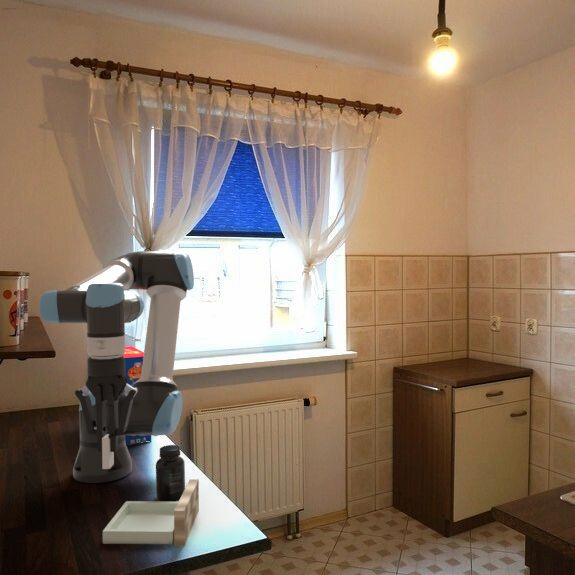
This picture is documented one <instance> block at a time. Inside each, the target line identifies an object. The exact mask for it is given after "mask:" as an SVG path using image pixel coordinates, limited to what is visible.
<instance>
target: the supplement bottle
mask: <svg viewBox="0 0 575 575" xmlns="http://www.w3.org/2000/svg"><path fill="white" fill-rule="evenodd" d="M185 464H186V463H185V459H184V458H183V457H182V456H181V447H180V446H179V445H176V444H170V445H169V444H168V445H164V446H162V447H161V446H160V448H159V459H158V460H157V461H156V462H155V488H156V489H155V493H156V500H157V501H164V502H179V500H180V498H181V496H182V494H183V492H184V490H185V488H186V472H185V471H186V469H185V467H186V465H185Z"/></svg>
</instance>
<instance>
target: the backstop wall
mask: <svg viewBox="0 0 575 575" xmlns="http://www.w3.org/2000/svg"><path fill="white" fill-rule="evenodd" d="M199 483H200V481H199V479H197V478H196V479H189V480H188V482H187V484H186V485H185V490H184V492H183V494H182V496H181V498H180V500H179V501H177V502H178V504H177V506H176V508H175V510H174V543H173V546H174V547H185V545H186V543H187V541H188V538H189V536H190V533H191V531H192V528H193V526H194V523H195V520H196V519H197V516H198V514H199V510H200V508H199V506H200V504H199V502H200V500H199V499H200V498H199V496H200V495H199V493H200V489H199V485H200V484H199Z"/></svg>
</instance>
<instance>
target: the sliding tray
mask: <svg viewBox="0 0 575 575" xmlns="http://www.w3.org/2000/svg"><path fill="white" fill-rule="evenodd" d="M178 502H179V501H176V502H164V501H159V500H157V501H153V500H152V501H148V500H147V501H146V500H145V501H144V500H143V501H142V500H137V501H136V500H134V501H133V500H132V501H131V500H129V501H128V500H126V501H125V502H124V503H123V504H122V506H121V507H120V509H119V510H118V511H117V512H116V513H115V515H114V516H113V517H112V518H111V520H110V521H109V522H108V523H107V525H106V526H105V527H104V528H103V530H102V544H104V545H109V544H110V545H174V510H175V508H176V506H177V504H178Z"/></svg>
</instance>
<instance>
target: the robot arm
mask: <svg viewBox="0 0 575 575" xmlns="http://www.w3.org/2000/svg"><path fill="white" fill-rule="evenodd" d="M194 279H195V277H194V269H193V263H192V260H191V257H190V255H189V254H188V253H187V252H186V251H182V250H181V251H177V250H172V251H171V250H166V251H165V250H163V251H162V250H161V251H155V250H153V251H151V250H150V251H145V250H142V251H141V250H139V251H134V252H128V253H125V254H124V255H123V254H122V255H119V256H117V257H116V258H112V259H111V260H108V261H107V262H106V263H105V264H104V265H103V266H102V268H101V270H99V271H97V272H95V273H93V274H92V275H90V276H88V277H86V278H84V279H83V280H81V281H79V282H77V283H75V284H74V285H71V286H70V287H68V288H66V289H64V290H58V289H55V290H48V291H44V293H42V295H41V297H40V299H39V303H38V309H39V315H40V317H41V319H42V320H43V321H44V322H46V323H49V324H59V325H61V324H86V327H87V328H86V329H87V330H86V331H87V332H86V333H87V334H86V336H87V337H86V339H87V340H86V342H87V343H86V344H87V346H86V347H87V349H86V350H87V353H86V354H87V356H89V357H88V359H87V379H86V381H85V385H84V386H82V387H80V388H78V389H76V390H75V392H74V395H75V396H76V398H77V400H78V401H79V406H78V407H79V408H78V412H79V449H78V452H77V455H76V458H75V460H74V465H73V468H72V478H73V479H74V480H75V481H77V482H80V483H84V484H85V483H87V484H98V483H99V484H102V483H107V482H113V481H116V480H119V479H123V478H124V477H127V476H128V475H130V474H131V473H132V471H133V460H132V457H131V454H130V451H129V449H128V446H126V443H125V435H151V436H153V437H158V436H169V435H171V434H173V433H174V432H175V430H176V429H177V427H178V426H179V423H180V419H181V415H182V411H183V400H184V399H183V394H182V392H181V391H179V390H178V384H176V382H175V381H174V380H173V379H174V378H173V377H174V369H175V357H176V351H177V350H176V348H177V338H178V330H179V329H178V328H179V318H180V310H181V301H183V300H184V299H186V297H187V291H190V290H192V289H194V284H195V280H194ZM135 290H146V295H147V296H149V298H150V303H149V310H148V317H147V319H148V320H147V328H146V335H145V342H144V351H143V352H144V357H143V365H142V373H141V378H140V379H139V380H137V381H136V382H135V383H134V387H132V386H130V385H129V384H128V381H127V379H126V376H125V357H124V356H123V355H122V354H124V353H125V347H126V336H125V335H126V332H125V327H126V326H125V324H128V323H131V322H134V321H136V320H137V319H139V318H140V317H141V315H142V314H143V312H144V308H145V303H144V299H143V297H142V296H141V294H139V292H137V291H135Z"/></svg>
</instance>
